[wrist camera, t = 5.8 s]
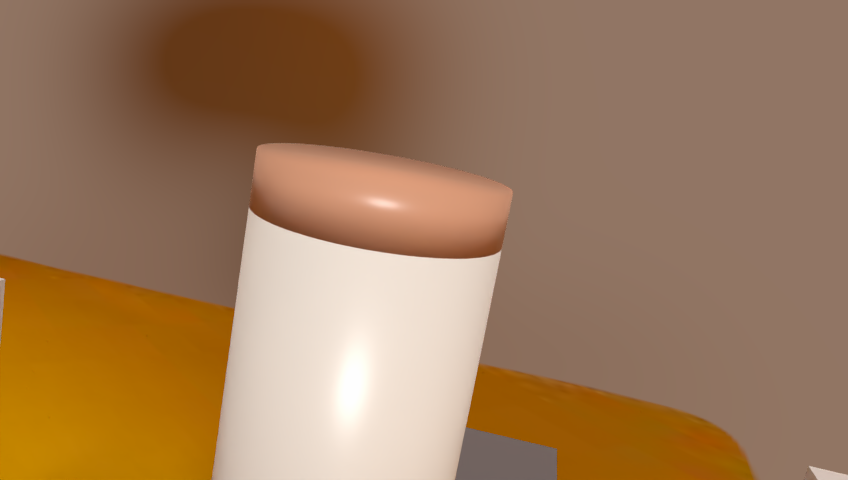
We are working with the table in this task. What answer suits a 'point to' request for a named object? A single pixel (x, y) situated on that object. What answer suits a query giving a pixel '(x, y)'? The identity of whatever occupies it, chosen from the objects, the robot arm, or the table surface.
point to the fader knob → (357, 316)
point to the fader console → (504, 458)
